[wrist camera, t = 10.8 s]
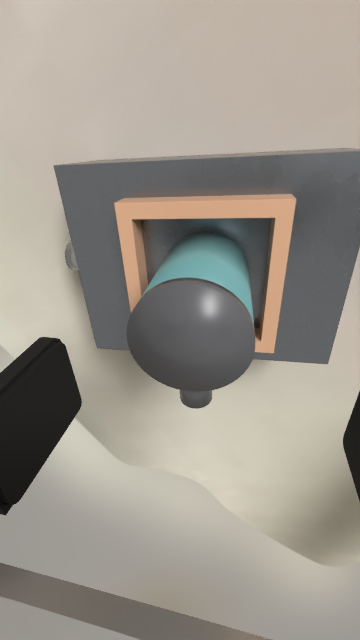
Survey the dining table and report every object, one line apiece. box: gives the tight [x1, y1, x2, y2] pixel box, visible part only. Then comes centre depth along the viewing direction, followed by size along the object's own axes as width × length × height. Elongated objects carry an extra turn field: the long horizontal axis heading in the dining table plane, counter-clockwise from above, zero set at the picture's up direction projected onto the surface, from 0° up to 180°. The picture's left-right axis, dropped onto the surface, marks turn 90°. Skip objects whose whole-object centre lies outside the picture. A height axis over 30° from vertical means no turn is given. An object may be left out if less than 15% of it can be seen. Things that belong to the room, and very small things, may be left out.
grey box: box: [54, 148, 360, 364], centre depth 19 cm, size 18×12×8 cm, turn 93°
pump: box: [126, 232, 255, 408], centre depth 15 cm, size 5×7×7 cm
